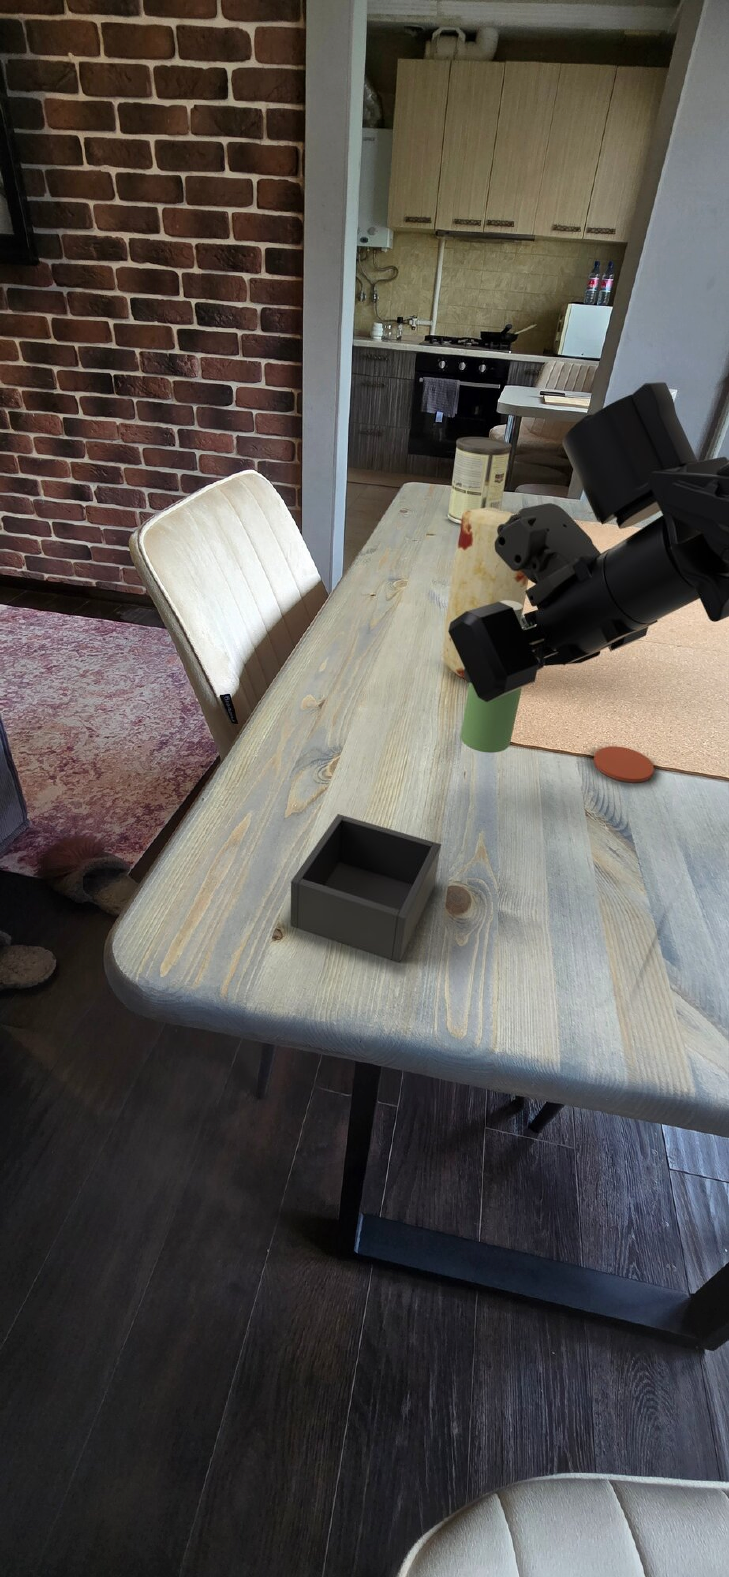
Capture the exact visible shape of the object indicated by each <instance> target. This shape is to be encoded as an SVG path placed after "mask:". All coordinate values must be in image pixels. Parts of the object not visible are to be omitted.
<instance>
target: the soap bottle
mask: <svg viewBox="0 0 729 1577" xmlns="http://www.w3.org/2000/svg"><path fill="white" fill-rule="evenodd" d="M500 602H501V603H504V604H506V605H508V606H510V607H513V609H514V611H515V614H516V616H517V618H518V620H519V623H520V625H521V627H522V628H523V627H525V626H524V624H523V622H522V620H521V616H522V615H523V613H522V612H524V608H523V605H522V604H520V603H518V602H515V601H509V600H505V601H500ZM535 626H536V625H534V626H531V627H528V628H526V627H525V630H527V629H529V628H532V627H535ZM522 689H523V687H522V688H520V689H517V690H515V691H513V692H511V693H508V694H506V695H504V696H501V697H499V698H496V699H494V700H491V701H489V702H485V701H483V700H482V699H480V698H478V696H477V694H476V692H475V690H474V687H473V685H472V683H468V689H467V695H466V701H465V707H464V712H463V720H462V724H461V731H460V739H461V741H462V742H463V744H464V745H465V746H467V747H468V748H470V749H471V750H475V751H478V752H481V753H488V754H489V753H490V754H492V753H494V754H495V753H500V752H504V751H505V750H507V749H508V748H509V747H510V745H511V742H512V737H513V731H514V727H515V723H516V718H517V713H518V709H519V705H520V704H519V703H520V699H521V693H522Z"/></svg>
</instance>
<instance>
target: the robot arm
mask: <svg viewBox="0 0 729 1577" xmlns="http://www.w3.org/2000/svg"><path fill="white" fill-rule="evenodd" d="M562 448H563V449H564V451H565V453H566V456H567V457H568V460H569V462H570V464H571V467H572V469H573V471H574V473H575V475H576V477H577V479H578V482H579V484H580V487H581V488H582V491H583V493H584V495H585V497H586V500H587V502H588V504H589V506H590V509H591V511H592V513H593V515H594V517H595V519H596V521H597V522H599V523H600V524H601V525H605V524H607V523H609V522H611V521H613V520H615V523H616V525H617V527H618V529H620V530H623V529H627V528H629V527H632V526H634V525H637V524H638V523H639V524H640V523H641V522H643V521H645V520H647V519H649V518H651V517H652V516H654V515H656V514H657V513H659V512H661V514H662V515H661V516H659V517H658V518H656V519H654V520H653V521H651V522H650V523H648V524H646V525H645V526H643V527H642V528H640V529H639V530H637V531H635V532H634V533H632V534H631V535H629V536H628V537H626V538H625V539H623V540H622V541H620V542H619V543H617V544H615V545H614V546H613V547H610V548H608V549H606V550H604V551H603V552H600V550H599V549H598V548H597V546H596V545H595V544H594V543H593V540H592V538H591V537H590V536H589V535H588V534H587V533H586V532H585V530H584V529H583V528H582V527H581V526H580V525H579V524H578V523H577V522H576V521H575V520H574V519H573V518H572V517H571V515H570V514H568V513H567V511H565V510H564V508H562V507H561V506H559V505H557V504H555V503H552V502H551V503H550V502H548V503H542V504H537V505H533V506H528V507H523V508H521V509H519V510H518V512H517V513H516V514H515V513H514V515H511V517H510V519H509V520H508V521H507V522H506V523H504V524H500V525H499V526H498V528H497V533H498V537H497V539H496V540H495V543H494V545H495V551H496V553H497V554H498V555H499V556H500V557H501V559H502V560H503V561H504V562H505V563H506V564H507V565H508V566H509V567H510V569H511V570H513V571H519V570H521V572H522V573H523V574H524V575H525V576H526V577H527V578H528V579H529V580H528V581H530V582H532V583H533V584H534V585H532V586H531V587H529V588H527V590H526V591H525V592H526V597H527V599H528V602H529V603H530V606H531V607H532V608H533V607H534V608H535V607H536V609H535V610H532V611H529V612H525V613H524V614H522V616H521V620H522V622H523V624H524V626H525V627H526V628H528V627H531V626H535V627H532V628H529V629H527V630H525V627H523V628H522V627H521V625H520V623H519V620H518V618H517V616H516V614H515V611H514V609H513V607H510V606H508V605H506V604H504V603H501V602H499V601H498V602H495V603H492V604H488V605H485V606H482V607H479V608H475V609H472V610H469V611H466V612H465V613H463V614H462V615H460V616H459V617H457V618H456V619H455V620H453V621H452V622H450V626H449V630H448V632H449V634H450V637H451V639H452V641H453V643H454V645H455V648H456V650H457V652H458V654H459V656H460V659H461V661H462V663H463V665H464V667H465V669H464V670H463V674H464V676H465V678H466V679H465V680H466V682H467V683H468V684H469V683H472V685H473V687H474V690H475V692H476V694H477V696H478V698H480V699H482V700H483V701H485V702H489V701H491V700H494V699H496V698H499V697H501V696H504V695H506V694H508V693H511V692H513V691H515V690H517V689H520V688H522V689H523V688H524V687H526V686H528V685H531V684H533V683H535V682H536V678H537V673H538V671H541V670H542V669H544V667H547V666H548V667H549V666H566V665H576V664H582V663H585V662H587V661H590V660H591V659H594V658H597V657H599V656H600V654H601V651H603V650H604V649H607V648H608V650H609V653H610V652H613V651H616V650H618V649H620V648H622V647H625V646H627V645H630V644H631V643H634V642H635V641H637V640H640V639H642V638H644V637H646V636H647V633H648V630H649V627H651V626H652V625H655V624H656V623H658V622H659V621H658V620H660V619H662V618H664V617H666V616H668V615H670V614H672V613H674V612H675V611H678V610H680V609H682V608H684V607H686V606H688V605H690V604H692V603H694V602H695V601H697V600H700V602H701V605H702V606H703V609H704V611H705V613H706V616H707V617H708V619H709V621H711V622H713V623H716V622H720V621H722V620H724V619H727V618H729V459H728V458H727V457H726V456H720V457H715V458H709V459H704V460H699V461H698V459H697V456H696V454H695V452H694V450H693V448H692V445H691V443H690V441H689V439H688V437H687V435H686V432H685V430H684V428H683V425H682V424H681V422H680V419H679V417H678V414H677V411H676V407H675V400H674V398H673V395H672V394H671V391H670V389H669V386H668V385H667V382H664V381H657V382H656V381H655V382H645V383H644V384H642V385H641V386H640V387H638V388H637V390H635V391H634V392H632V393H631V394H629V395H625V396H624V397H622V398H619V399H617V400H615V401H613V402H612V403H609V404H607V405H606V406H604V407H603V408H601V409H599V410H598V411H596V412H595V413H593V414H586V415H585V416H584V417H582V418H581V419H580V420H579V421H577V422H576V423H575V424H574V425H573V426H572V427H571V428H570V429H569V430H568V431H567V433H566V434H565V435H564V437H563V439H562Z"/></svg>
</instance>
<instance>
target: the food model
mask: <svg viewBox="0 0 729 1577" xmlns="http://www.w3.org/2000/svg"><path fill="white" fill-rule="evenodd" d="M511 515H515V513H512V512H510V511H506V510H502V509H500V510H499V509H496V508H490V507H486V508H481V509H476V510H468V511H465V512H464V513H463V515H462V521H461V524H460V528H459V530H460V531H459V535H458V539H457V544H456V550H455V555H454V561H453V566H452V571H451V579H450V588H449V597H448V602H447V608H446V614H445V622H444V640H443V649H442V659H443V661H444V663H445V664H446V665H447V667H448V668H449V669H450V670H451V671H452V672H453V673H455V674H456V675H457V676H459V677H460V678H463V679H464V680H466V678H465V676H464V674H463V670H464V669H465V667H464V665H463V663H462V661H461V659H460V656H459V654H458V652H457V650H456V648H455V645H454V643H453V641H452V639H451V637H450V634H449V632H448V630H449V626H450V622H452V621H453V620H455V619H456V618H457V617H459V616H460V615H462V614H463V613H465V612H466V611H469V610H472V609H475V608H479V607H482V606H485V605H488V604H492V603H495V602H498V601H499V602H500V601H505V600H509V601H515V602H518V603H520V604H522V605H523V609H524V607H525V604H526V602H525V601H526V597H527V595H526V592H525V591H526V590H528V586H529V581H530V580H529V579H528V578H527V577H526V576H525V575H524V574H523V573H522V572H521V570H519V571H513V570H511V569H510V567H509V566H508V565H507V564H506V563H505V562H504V561H503V560H502V559H501V557H500V556H499V555H498V554H497V553H496V551H495V545H494V543H495V540H496V539H497V537H498V533H497V528H498V526H499V525H500V524H504V523H506V522H507V521H508V520H509V519H510V517H511ZM523 612H524V611H523ZM523 612H522V614H523Z"/></svg>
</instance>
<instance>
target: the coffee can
mask: <svg viewBox="0 0 729 1577" xmlns="http://www.w3.org/2000/svg"><path fill="white" fill-rule="evenodd" d="M455 442H456V448H455V456H454V457H455V458H454V464H453V472H452V481H451V489H450V495H449V496H450V497H449V505H448V506H449V507H448V513H447V519H448V520H450V521H451V522H454V523H456V524H459V525H461V521H462V515H463V513H464V512H465V511H468V510H476V509H481V508H486V507H490V508H496V509H499V510H502V509H501V507H502V502H503V497H504V495H503V494H504V490H505V484H506V478H507V473H508V472H507V471H508V466H509V461H510V460H509V459H510V454H511V450H512V447H513V445H512V444H511V443H510V442H508V441H505V440H502V439H497V438H492V437H486V436H485V437H483V436H464V437H459V438H458V439H456V441H455Z"/></svg>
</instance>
